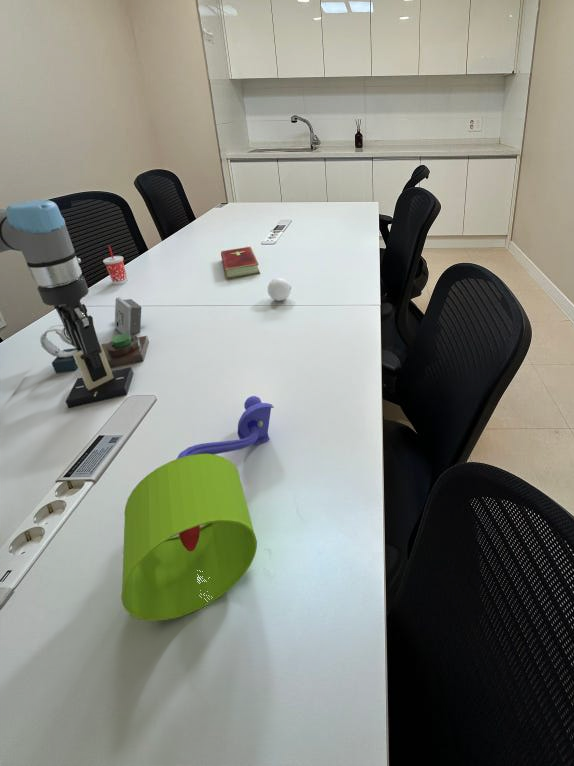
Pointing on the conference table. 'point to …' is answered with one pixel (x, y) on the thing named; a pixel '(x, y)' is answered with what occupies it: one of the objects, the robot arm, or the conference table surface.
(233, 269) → the hardcover book
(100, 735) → the conference table surface
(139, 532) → the wall lamp
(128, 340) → the button
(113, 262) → the beverage cup
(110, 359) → the switch block
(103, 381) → the cream rectangular block
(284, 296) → the white ovoid piece
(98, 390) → the dimmer panel
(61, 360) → the watch
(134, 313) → the electrical switch
